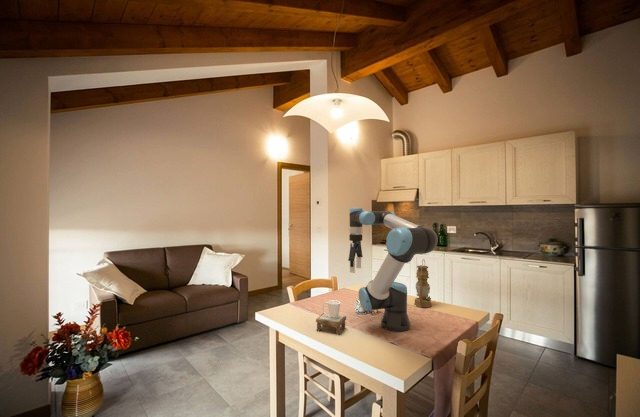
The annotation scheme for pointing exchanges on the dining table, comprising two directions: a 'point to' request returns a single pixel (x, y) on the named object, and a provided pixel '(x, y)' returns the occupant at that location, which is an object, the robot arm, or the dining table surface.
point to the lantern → (422, 287)
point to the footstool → (331, 324)
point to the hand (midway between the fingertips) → (355, 270)
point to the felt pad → (325, 317)
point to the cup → (333, 308)
